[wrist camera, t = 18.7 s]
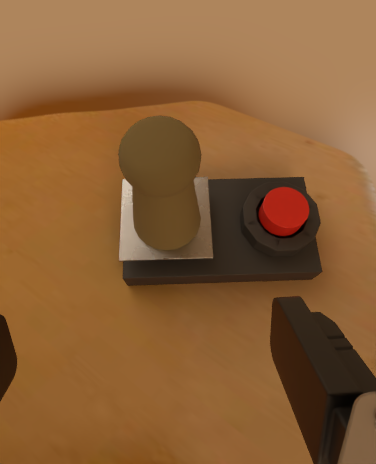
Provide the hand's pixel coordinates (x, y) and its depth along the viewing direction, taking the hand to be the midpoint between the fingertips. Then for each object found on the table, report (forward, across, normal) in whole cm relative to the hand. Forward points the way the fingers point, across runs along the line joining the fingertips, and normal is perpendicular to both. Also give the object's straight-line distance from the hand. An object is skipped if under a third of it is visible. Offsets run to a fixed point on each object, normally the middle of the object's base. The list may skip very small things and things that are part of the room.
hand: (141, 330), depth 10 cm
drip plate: (+20, 0, +3) cm, 20 cm away
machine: (+23, -5, +7) cm, 25 cm away
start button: (+20, -11, +4) cm, 23 cm away
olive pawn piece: (+20, 0, +4) cm, 20 cm away
